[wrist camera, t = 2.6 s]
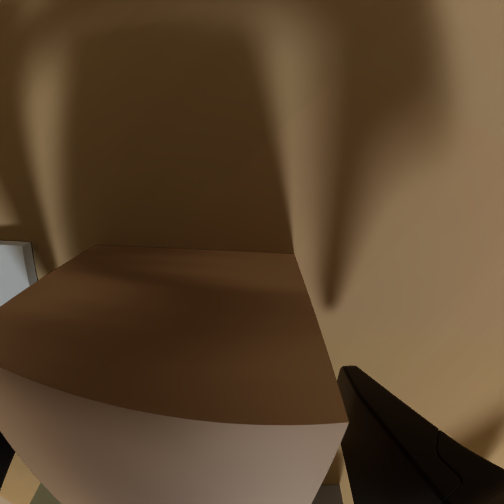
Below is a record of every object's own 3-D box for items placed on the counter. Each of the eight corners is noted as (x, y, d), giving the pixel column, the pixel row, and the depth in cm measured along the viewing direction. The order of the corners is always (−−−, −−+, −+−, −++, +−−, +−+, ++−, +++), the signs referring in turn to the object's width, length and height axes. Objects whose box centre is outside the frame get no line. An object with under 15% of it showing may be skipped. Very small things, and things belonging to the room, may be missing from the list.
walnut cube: (124, 389, 10) (66, 508, 4) (97, 243, 8) (-48, 342, 3) (276, 405, 10) (282, 550, 4) (293, 252, 8) (348, 422, 3)
